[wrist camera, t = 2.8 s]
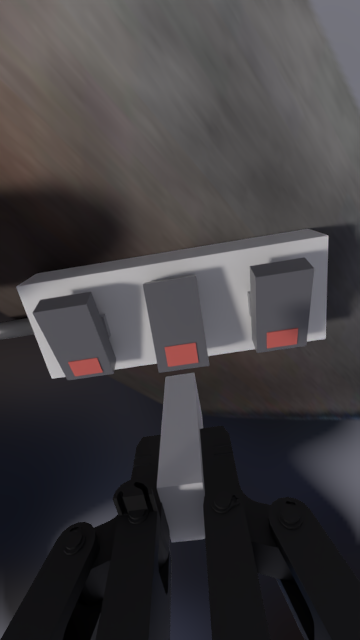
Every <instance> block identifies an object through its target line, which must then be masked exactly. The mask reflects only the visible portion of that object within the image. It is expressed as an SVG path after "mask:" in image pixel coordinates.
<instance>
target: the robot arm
mask: <svg viewBox="0 0 360 640" xmlns="http://www.w3.org/2000/svg"><path fill="white" fill-rule="evenodd" d="M113 501H114V504H115V506H116V509H117V512H118V515H117V516H116V517H115V518H114V519H112V520H110V521H108V522H106V523H104V524H102V525H100V526H97V527H95V528H93V527H92V525H91V524H89V523H86V522H80V523H76V524H74V525H71V526H70V527H68V528H67V529H66V530H65V531H63V532H62V534H61V535H60V536H59V538H58V539H57V541H56V542H55V544H54V546H53V548H52V550H51V551H50V553H49V555H48V557H47V558H46V560H45V562H44V564H43V565H42V568H41V569H40V571H39V573H38V574H37V576H36V578H35V580H34V581H33V583H32V585H31V587H30V589H29V590H28V592H27V594H26V596H25V597H24V599H23V601H22V603H21V605H20V606H19V608H18V610H17V612H16V613H15V615H14V617H13V619H12V620H11V622H10V624H9V626H8V628H7V629H6V631H5V633H4V634H3V636H2V638H1V640H170V613H171V611H170V610H171V566H172V564H171V563H172V560H171V553H170V550H169V535H170V538H171V542H180V541H189V540H198V539H205V542H206V556H207V571H208V586H209V600H210V614H211V629H212V640H271V639H270V634H269V629H268V624H267V619H266V614H265V609H264V604H263V599H262V594H261V589H260V584H259V579H258V574H257V573H260V574H263V575H267V576H271V577H274V578H276V580H277V582H278V584H279V586H280V588H281V590H282V592H283V595H284V597H285V599H286V601H287V603H288V605H289V607H290V610H291V612H292V614H293V616H294V618H295V620H296V622H297V624H298V626H299V629H300V631H301V633H302V635H303V637H304V639H305V640H360V582H359V580H358V579H357V578H356V576H355V574H354V573H353V571H352V570H351V569H350V567H349V566H348V564H347V563H346V561H345V560H344V559H343V557H342V556H341V554H340V553H339V551H338V550H337V548H336V547H335V545H334V544H333V542H332V541H331V539H330V538H329V536H328V535H327V534H326V532H325V531H324V529H323V528H322V526H321V525H320V523H319V522H318V520H317V519H316V518H315V516H314V515H313V513H312V512H311V510H310V509H309V508H308V507H307V506H306V505H305V504H304V503H303V502H301V501H299V500H297V499H294V498H289V497H286V498H279V499H277V500H276V501H274V502H273V503H272V505H268V504H263V503H258V502H255V501H253V500H251V499H250V498H248V497H247V496H246V495H245V494H244V493H243V492H242V490H241V488H240V485H239V481H238V476H237V471H236V466H235V461H234V456H233V451H232V447H231V441H230V436H229V433H228V432H227V431H226V430H225V428H224V427H223V426H217V427H210V428H203V423H202V413H201V408H200V402H199V397H198V391H197V385H196V380H195V374H194V373H189V374H182V375H175V376H168V377H166V379H165V391H164V403H163V415H162V428H161V435H157V436H149V437H143V438H142V439H141V441H140V442H139V444H138V446H137V448H136V454H135V459H134V467H133V471H132V477H131V480H129V481H127V482H126V483H124V484H122V485H121V486H120V487H119V488H118V489H117V491H116V492H115V494H114V497H113Z"/></svg>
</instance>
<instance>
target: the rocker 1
mask: <svg viewBox="0 0 360 640" xmlns="http://www.w3.org/2000/svg"><path fill="white" fill-rule="evenodd" d="M33 315H34V317H35V319H36V321H37V323H38V325H39V327H40V329H41V331H42V332H43V334H44V336H45V338H46V340H47V342H48V344H49V346H50V348H51V350H52V351H53V353H54V355H55V357H56V359H57V361H58V363H59V365H60V367H61V369H62V371H63V372H64V374H65V376H66V378H67V380H73V379H80V378H87V377H94V376H101V375H108V374H114V370H115V364H116V357H115V354H114V351H113V349H112V346H111V343H110V341H109V338H108V335H107V333H106V330H105V327H104V325H103V322H102V319H101V316H100V314H99V311H98V308H97V306H96V303H95V300H94V298H93V295H92V292H85V293H79V294H73V295H67V296H60V297H54V298H48V299H42V300H40V301H39V303H38V304H37V306H36V308H35V309H34V311H33Z"/></svg>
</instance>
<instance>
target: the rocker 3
mask: <svg viewBox="0 0 360 640" xmlns="http://www.w3.org/2000/svg"><path fill="white" fill-rule="evenodd" d="M313 276H314V267H313V266H312V265H311V264H310V263H309V262H308V261H307V259H306V258H305V257H303V258H297V259H291V260H285V261H279V262H272V263H266V264H260V265H254V266H250V294H251V328H252V341H253V344H254V346H255V349H256V352H257V353H260V352H267V351H274V350H280V349H287V348H294V347H301V346H306V344H307V334H308V324H309V315H310V305H311V295H312V286H313Z"/></svg>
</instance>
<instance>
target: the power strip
mask: <svg viewBox="0 0 360 640" xmlns="http://www.w3.org/2000/svg"><path fill="white" fill-rule="evenodd" d="M303 257H305V258H306V259H307V261H308V262H309V263H310V264H311V265H312V266H313V267H314V276H313V286H312V295H311V305H310V315H309V324H308V334H307V341H314V340H321V339H326V308H327V271H328V235H326V234H323V233H320V232H317V231H314V230H311V229H303V230H297V231H291V232H285V233H278V234H272V235H266V236H260V237H254V238H248V239H242V240H236V241H230V242H224V243H218V244H212V245H206V246H200V247H194V248H188V249H182V250H176V251H170V252H164V253H158V254H152V255H146V256H139V257H133V258H127V259H121V260H115V261H109V262H103V263H97V264H91V265H85V266H79V267H73V268H67V269H61V270H55V271H49V272H43V273H37V274H35V275H33V276H32V277H30V278H29V279H27V280H26V281H24V282H22V283H21V284H19V285H18V286H16V288H17V290H18V293H19V295H20V298H21V301H22V303H23V306H24V308H25V311H26V313H27V316H28V318H25V319H19V320H12V321H6V322H0V339H7V338H13V337H19V336H26V335H33V334H35V337H36V339H37V342H38V344H39V347H40V349H41V352H42V355H43V357H44V360H45V362H46V365H47V367H48V370H49V372H50V375H51V377H52V378H60V377H66V376H65V374H64V372H63V371H62V369H61V367H60V365H59V363H58V361H57V359H56V357H55V355H54V353H53V351H52V350H51V348H50V346H49V344H48V342H47V340H46V338H45V336H44V334H43V332H42V331H41V329H40V327H39V325H38V323H37V321H36V319H35V317H34V315H33V311H34V309H35V308H36V306H37V304H38V303H39V301H40V300H42V299H48V298H54V297H60V296H67V295H73V294H79V293H85V292H92V295H93V298H94V300H95V303H96V306H97V308H98V311H99V314H100V316H101V319H102V322H103V325H104V327H105V330H106V333H107V335H108V338H109V341H110V343H111V346H112V349H113V351H114V354H115V357H116V364H115V369H122V368H129V367H135V366H142V365H149V364H156V363H157V360H156V354H155V349H154V344H153V338H152V333H151V327H150V322H149V316H148V311H147V306H146V300H145V295H144V289H143V284H144V283H146V282H151V281H158V280H164V279H170V278H176V277H182V276H189V275H195V274H196V279H197V285H198V292H199V299H200V305H201V312H202V319H203V326H204V332H205V339H206V346H207V352H208V356H211V355H218V354H225V353H232V352H238V351H245V350H252V349H255V346H254V344H253V341H252V328H251V294H250V266H254V265H260V264H266V263H272V262H279V261H285V260H291V259H297V258H303Z"/></svg>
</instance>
